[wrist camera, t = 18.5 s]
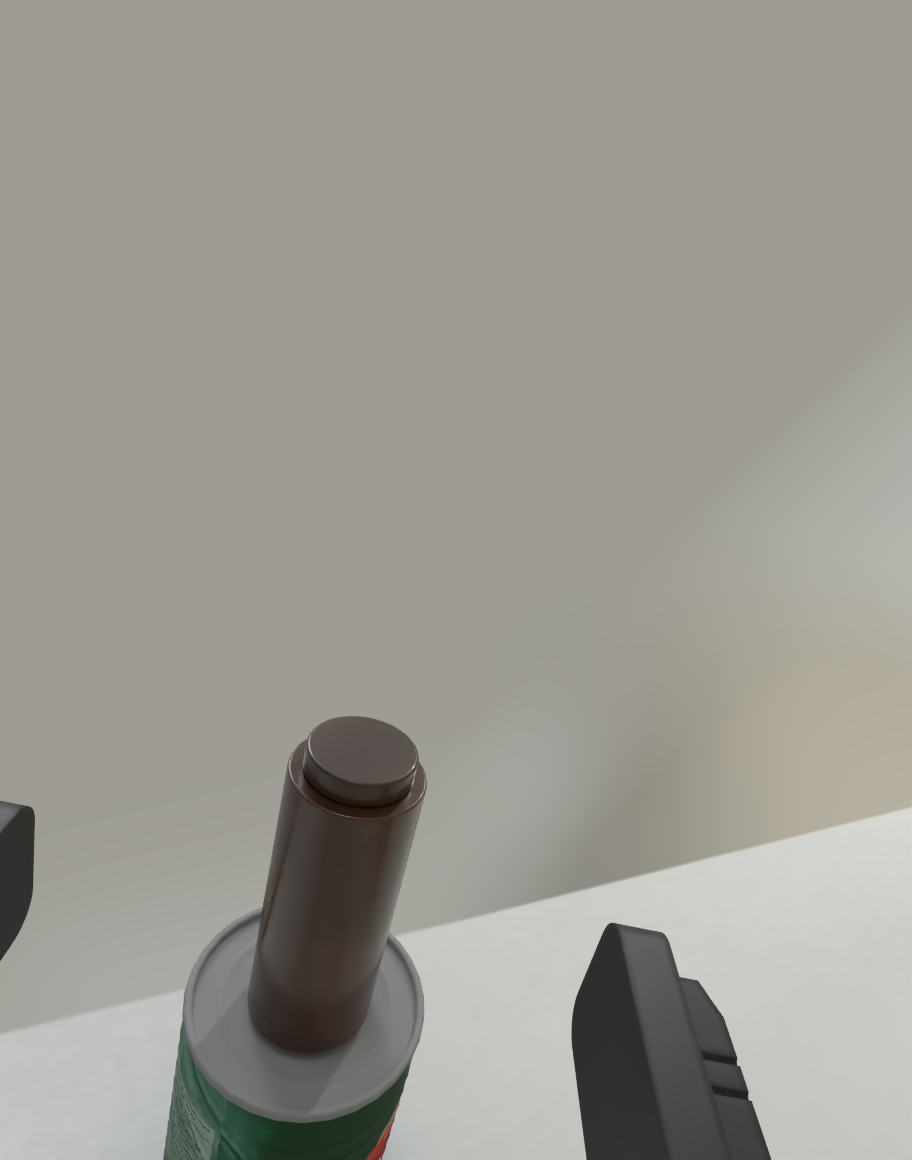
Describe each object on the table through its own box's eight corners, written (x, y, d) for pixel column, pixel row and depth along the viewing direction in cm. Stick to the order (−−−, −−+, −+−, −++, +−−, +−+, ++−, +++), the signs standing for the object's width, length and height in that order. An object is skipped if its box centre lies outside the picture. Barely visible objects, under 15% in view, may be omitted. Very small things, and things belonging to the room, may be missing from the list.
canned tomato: (277, 1386, 24) (332, 1178, 20) (106, 1223, 27) (125, 1013, 23) (403, 1164, 31) (464, 975, 27) (256, 1052, 34) (292, 866, 30)
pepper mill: (220, 998, 24) (260, 742, 21) (306, 925, 28) (353, 692, 24) (314, 1080, 23) (376, 817, 19) (393, 991, 26) (459, 752, 22)
